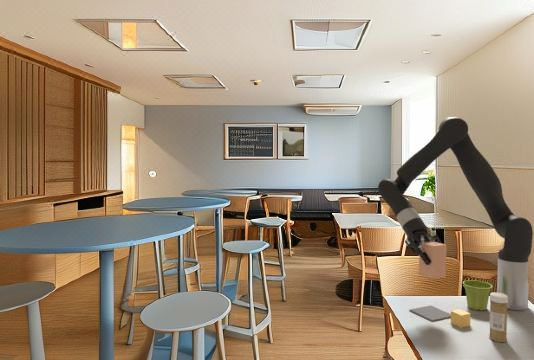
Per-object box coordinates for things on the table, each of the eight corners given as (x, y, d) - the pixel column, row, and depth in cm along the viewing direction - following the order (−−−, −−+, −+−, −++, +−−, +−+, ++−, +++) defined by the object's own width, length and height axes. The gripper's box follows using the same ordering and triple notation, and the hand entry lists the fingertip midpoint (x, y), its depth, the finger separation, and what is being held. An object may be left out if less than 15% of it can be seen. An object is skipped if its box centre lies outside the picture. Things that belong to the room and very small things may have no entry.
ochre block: (459, 321, 126) (459, 309, 126) (470, 325, 122) (470, 313, 122) (450, 323, 124) (451, 311, 124) (461, 327, 120) (461, 315, 120)
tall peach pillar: (431, 272, 135) (432, 241, 134) (445, 276, 129) (446, 244, 129) (418, 273, 132) (419, 242, 132) (432, 278, 127) (433, 246, 126)
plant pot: (482, 314, 131) (482, 289, 131) (456, 305, 139) (457, 282, 139) (497, 309, 136) (498, 285, 135) (471, 301, 144) (472, 278, 144)
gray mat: (430, 306, 138) (430, 305, 138) (454, 316, 129) (454, 315, 129) (409, 310, 134) (409, 309, 134) (432, 321, 125) (432, 320, 125)
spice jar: (509, 340, 112) (511, 295, 111) (502, 344, 109) (503, 298, 109) (493, 334, 116) (494, 290, 115) (485, 338, 113) (486, 293, 113)
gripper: (401, 217, 134) (427, 258, 124) (431, 216, 140) (458, 255, 129) (390, 230, 139) (414, 270, 129) (420, 228, 145) (445, 266, 134)
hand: (436, 262), depth 129 cm, fingers closed on tall peach pillar, 6 cm apart
